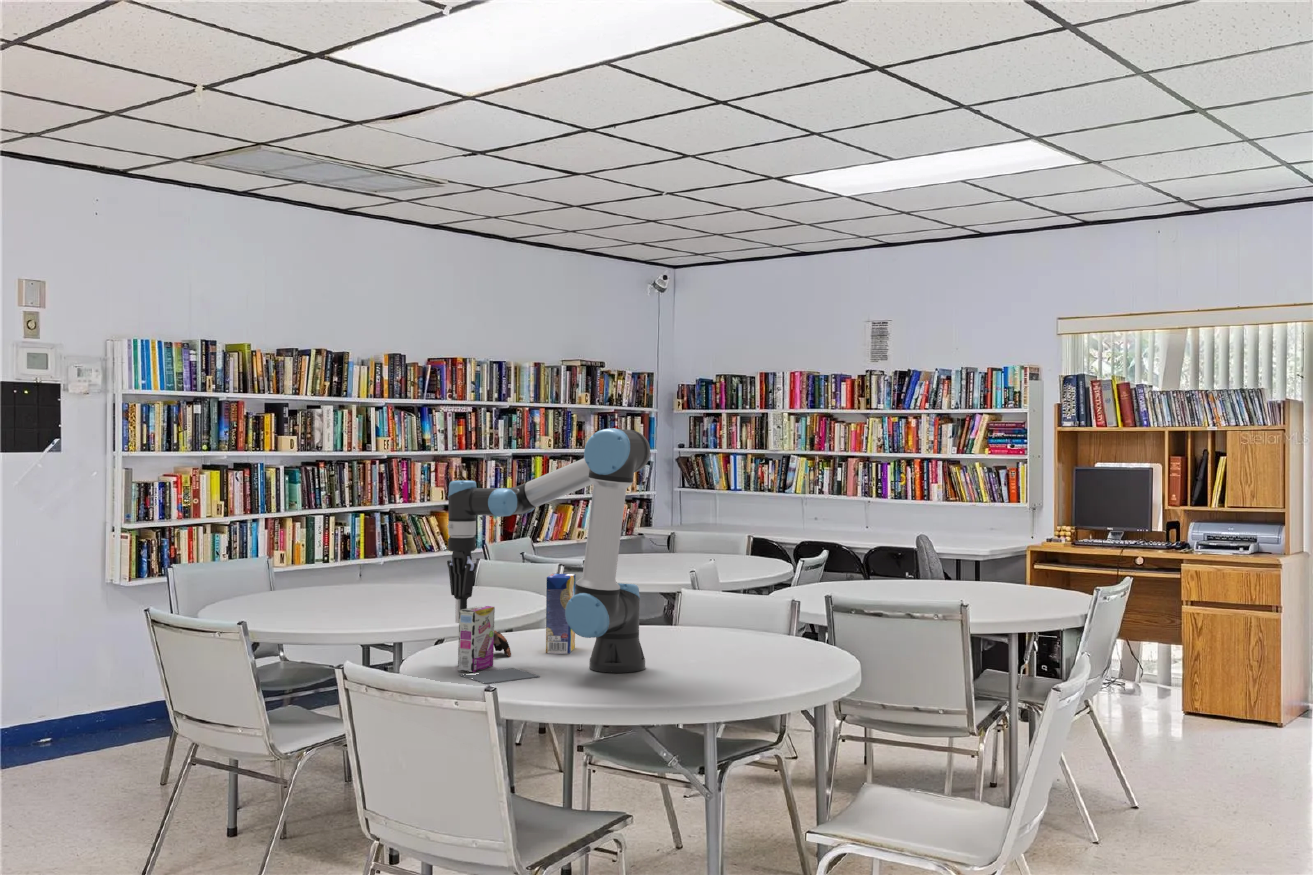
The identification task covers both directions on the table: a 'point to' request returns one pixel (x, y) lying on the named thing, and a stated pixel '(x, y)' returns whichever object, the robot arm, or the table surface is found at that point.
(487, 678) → the mat
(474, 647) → the candy bar box
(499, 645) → the brown curved piece
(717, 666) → the table surface
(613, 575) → the robot arm
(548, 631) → the beverage box
